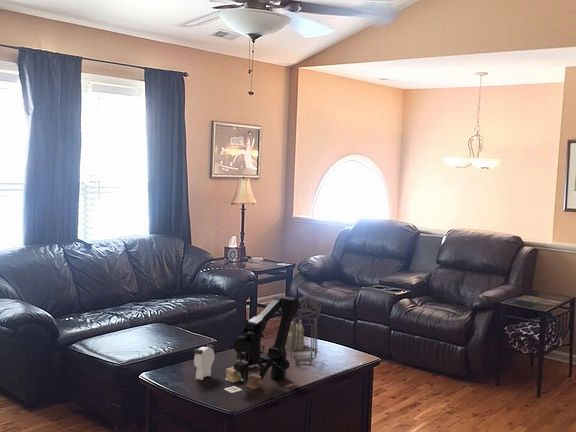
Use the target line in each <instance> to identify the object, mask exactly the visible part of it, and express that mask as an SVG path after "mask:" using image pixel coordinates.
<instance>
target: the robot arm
mask: <svg viewBox="0 0 576 432" xmlns="http://www.w3.org/2000/svg"><path fill="white" fill-rule="evenodd" d="M298 299H299V298H296V297H291V296H288V295H287V296H284V297H282V296H274V297H273V299H272V301H270V303H269V304H268V305H267V306H266V307H265V308H264V309H263V310H262V311H261V312H260V313H259V314H257V315H256V316H255V315H254V316H253V317H251V318H250V319H249V320H247V322H246V324H245V326H244V328H243V330H242V332H241V334H240V336H237V338H236V340H234V342H233V345H232V346H233V350H234V351H235V353H236V356H235V357H236V360H239V361H238V362H235V363H234V364H233V367H234V370H236V371H238V372H240V374H241V379H242V383H243V385H244V386H245V385H246V384H247V379H248V375H249V369H250V368H249V367H251V366H254V367H256V366H258V367H259V376H261V382H262V381H263V380H264V377H265V375H266V374H267V372H268V370H269V369H270V368H271V370H270V380H272V381H282V380H284V379H285V380H288V379H289V378H287V376H286V375H287V372H286V371H287V369H289V367H290V362H289V360H288V359H287V350H286V349H285V344H286V340H287V336H288V333H289V329H290V326H291V322H292V321H293V318H294V316H296V315H297V314H298V313H297V312H299V311H298V309H299V308H300V306H299V305H301V304H300V303H301V302H299V300H298ZM279 310H280V311H281V319H280V323H279V325H278V330H277V334H276V337H275V340H274V344H273V345H272V346H269V347H268V348H269V349H267V353H266V355H264V356H261V354H262V355H263V353H262V352H263V350H261V348H262V347H261V346H262V345H261V344H262V343H261V341H262V339H263V338H264V337H265V335H264V334H263V332H264V331H265V329H266V327H267V323H268V322H269V321H270V320H271V318H272V317H273V316H274V315H276V313H277V312H278V311H279ZM244 352H245V353H244ZM242 360H244V361H245V362H247V363H243V362H242Z"/></svg>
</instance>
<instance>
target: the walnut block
mask: <svg viewBox="0 0 576 432" xmlns="http://www.w3.org/2000/svg"><path fill="white" fill-rule="evenodd" d="M244 387H245V388H248V389H250V390H257V389H260V388H262V381H261V376H260V375H257V374H256V373H252V374H248V379H247V384H246V385H244Z"/></svg>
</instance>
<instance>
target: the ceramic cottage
mask: <svg viewBox="0 0 576 432" xmlns="http://www.w3.org/2000/svg"><path fill="white" fill-rule="evenodd" d="M301 324H303V323H302V319H300V321H299V332H298V323H297V324H296V341H295V339H294V335H293V326H294V323H293V320H292V321H291V325H290V329H289V333H288V336H287V340H286V344H285V350H286V351H291V343H292V335H293V339H294V341H295V349H296V343H297V332H298V344H297V349H304V348H305V346H306V345H305V344H306V343H305V336H304V331H305V328H304V325H301ZM294 330H295V326H294ZM292 348H293V344H292ZM293 349H294V348H293Z"/></svg>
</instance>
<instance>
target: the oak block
mask: <svg viewBox="0 0 576 432" xmlns="http://www.w3.org/2000/svg"><path fill="white" fill-rule="evenodd" d="M225 374H226V376H225V380H226V379H227V380H226V381H228V380H229V381H228V382H230V381H232V382H233V383H236V382H235V381H237V382H239V381H238V380H241V379H242V376H241V374H240V372H238V371H236V370H234V366H231V367H228V368H226V372H225ZM241 381H242V380H241ZM232 382H231V383H232Z"/></svg>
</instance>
